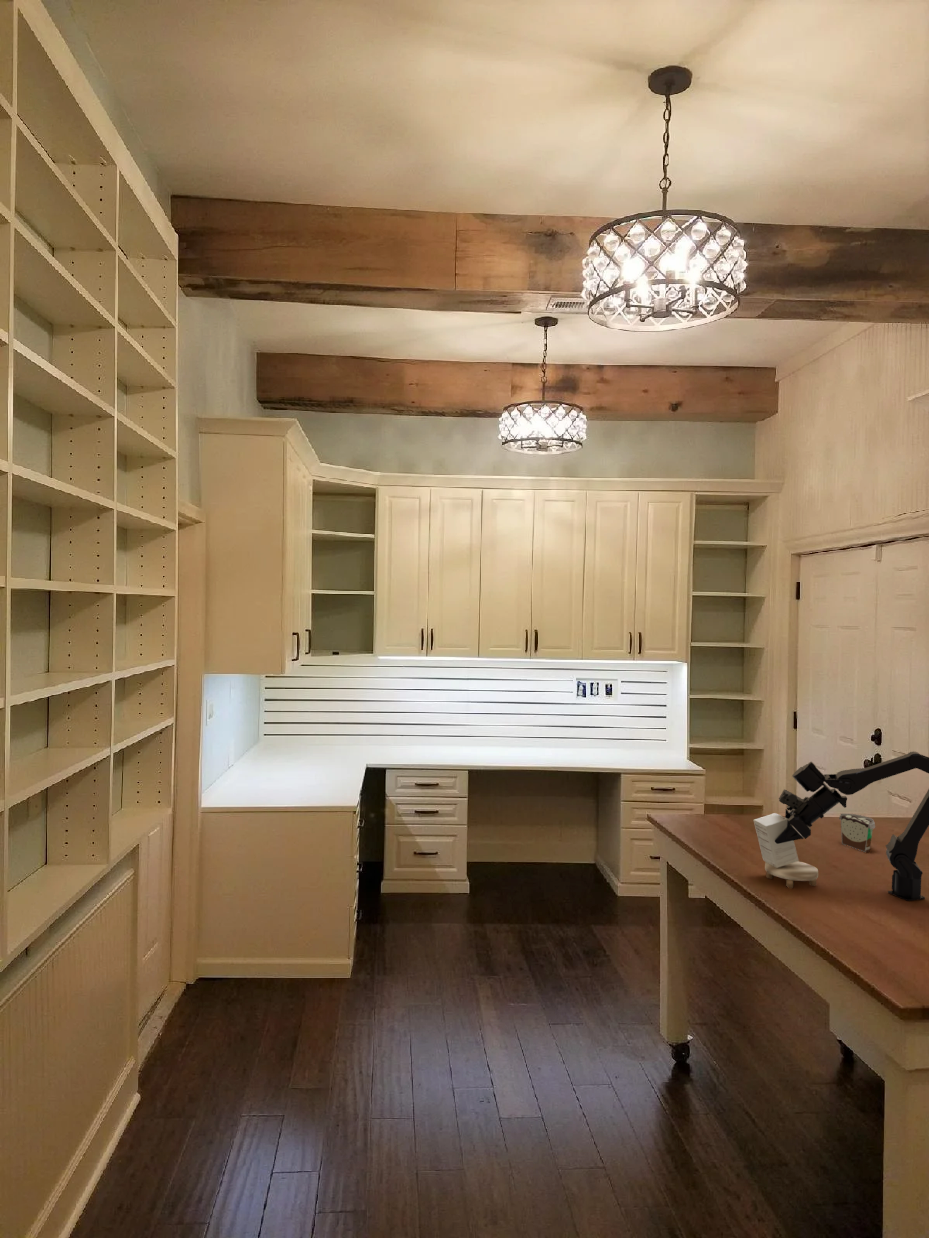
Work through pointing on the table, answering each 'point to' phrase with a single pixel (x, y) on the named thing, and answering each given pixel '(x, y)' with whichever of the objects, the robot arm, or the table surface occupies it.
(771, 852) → the supplement box
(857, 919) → the table surface
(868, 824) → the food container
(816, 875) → the stool
